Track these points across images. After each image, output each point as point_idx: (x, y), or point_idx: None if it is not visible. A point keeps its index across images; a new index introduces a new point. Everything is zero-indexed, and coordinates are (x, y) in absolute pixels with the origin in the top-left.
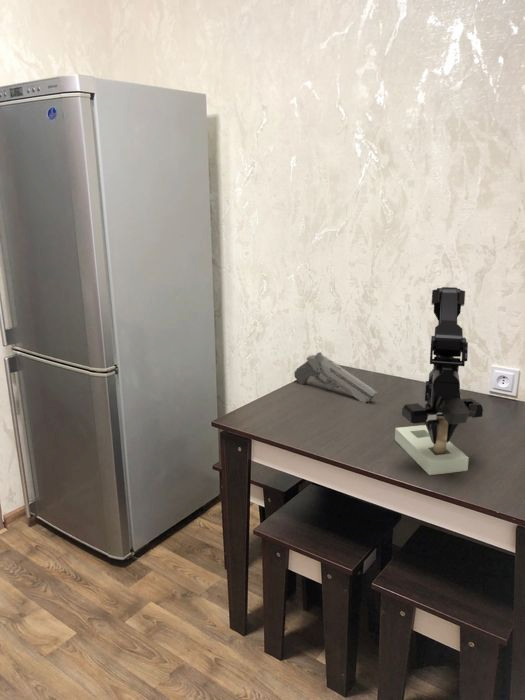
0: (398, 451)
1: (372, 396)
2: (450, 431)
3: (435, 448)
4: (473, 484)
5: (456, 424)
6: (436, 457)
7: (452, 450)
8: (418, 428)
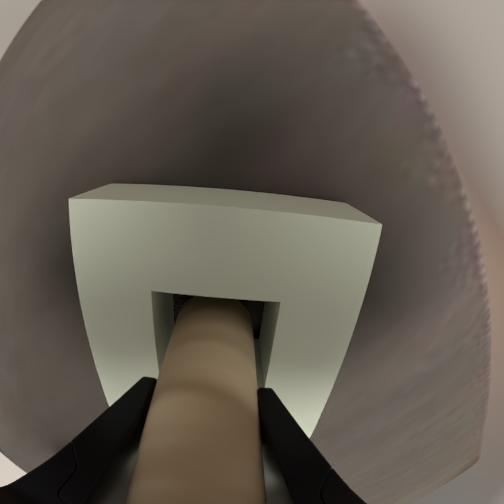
0: None
1: None
2: (105, 453)
3: (253, 358)
4: (171, 43)
5: (23, 494)
6: (296, 272)
7: (126, 323)
8: None
